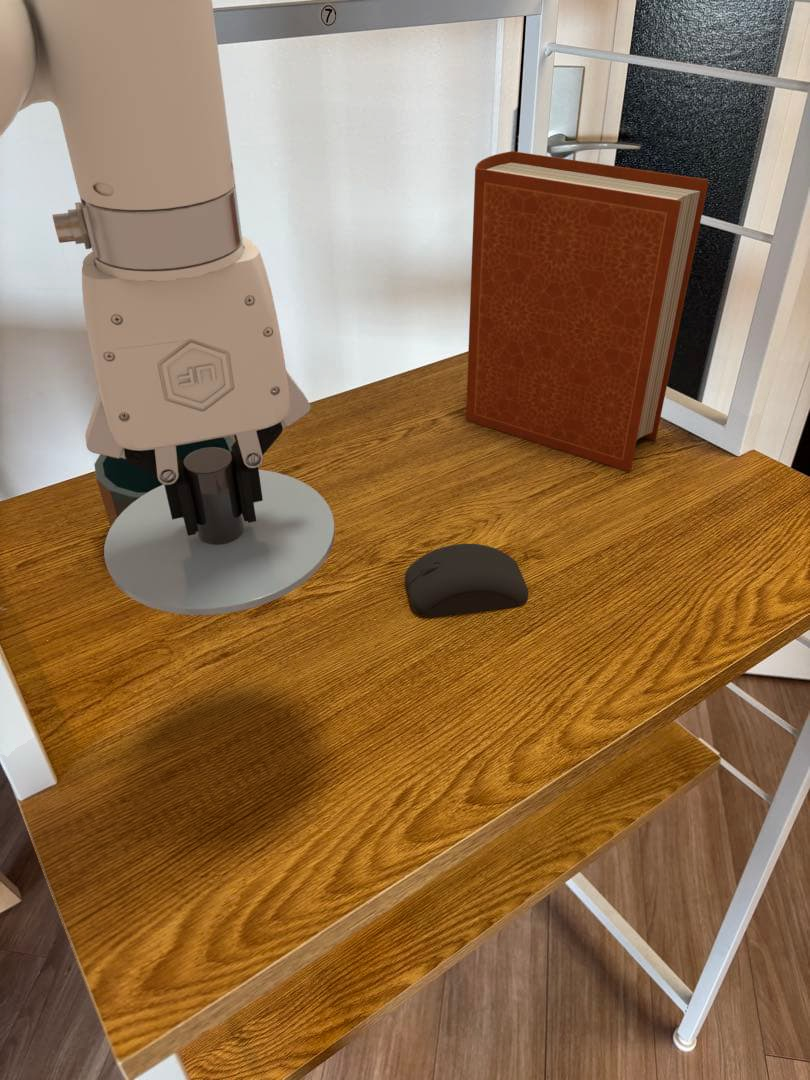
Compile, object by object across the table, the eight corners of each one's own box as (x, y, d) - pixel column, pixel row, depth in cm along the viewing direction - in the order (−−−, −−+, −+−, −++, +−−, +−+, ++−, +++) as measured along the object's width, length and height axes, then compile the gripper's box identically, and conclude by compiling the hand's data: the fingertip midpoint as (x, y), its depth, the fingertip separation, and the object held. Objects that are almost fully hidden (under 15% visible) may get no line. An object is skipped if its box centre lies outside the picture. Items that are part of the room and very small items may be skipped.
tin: (124, 589, 80) (100, 510, 75) (111, 511, 90) (90, 436, 85) (261, 556, 84) (249, 479, 78) (235, 485, 94) (222, 411, 88)
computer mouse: (402, 575, 82) (402, 544, 79) (513, 562, 83) (516, 530, 80) (413, 619, 77) (413, 587, 74) (531, 604, 78) (535, 572, 76)
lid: (118, 649, 48) (90, 559, 43) (100, 506, 58) (75, 423, 54) (364, 588, 51) (359, 501, 47) (303, 465, 62) (296, 385, 58)
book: (655, 440, 100) (708, 179, 82) (630, 472, 95) (680, 201, 76) (490, 391, 111) (503, 149, 92) (458, 417, 105) (466, 167, 87)
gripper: (-10, 273, 37) (90, 582, 49) (341, 230, 41) (357, 522, 53) (-6, 223, 43) (83, 510, 54) (303, 189, 47) (325, 462, 58)
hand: (218, 514), depth 53 cm, fingers closed on lid, 3 cm apart
